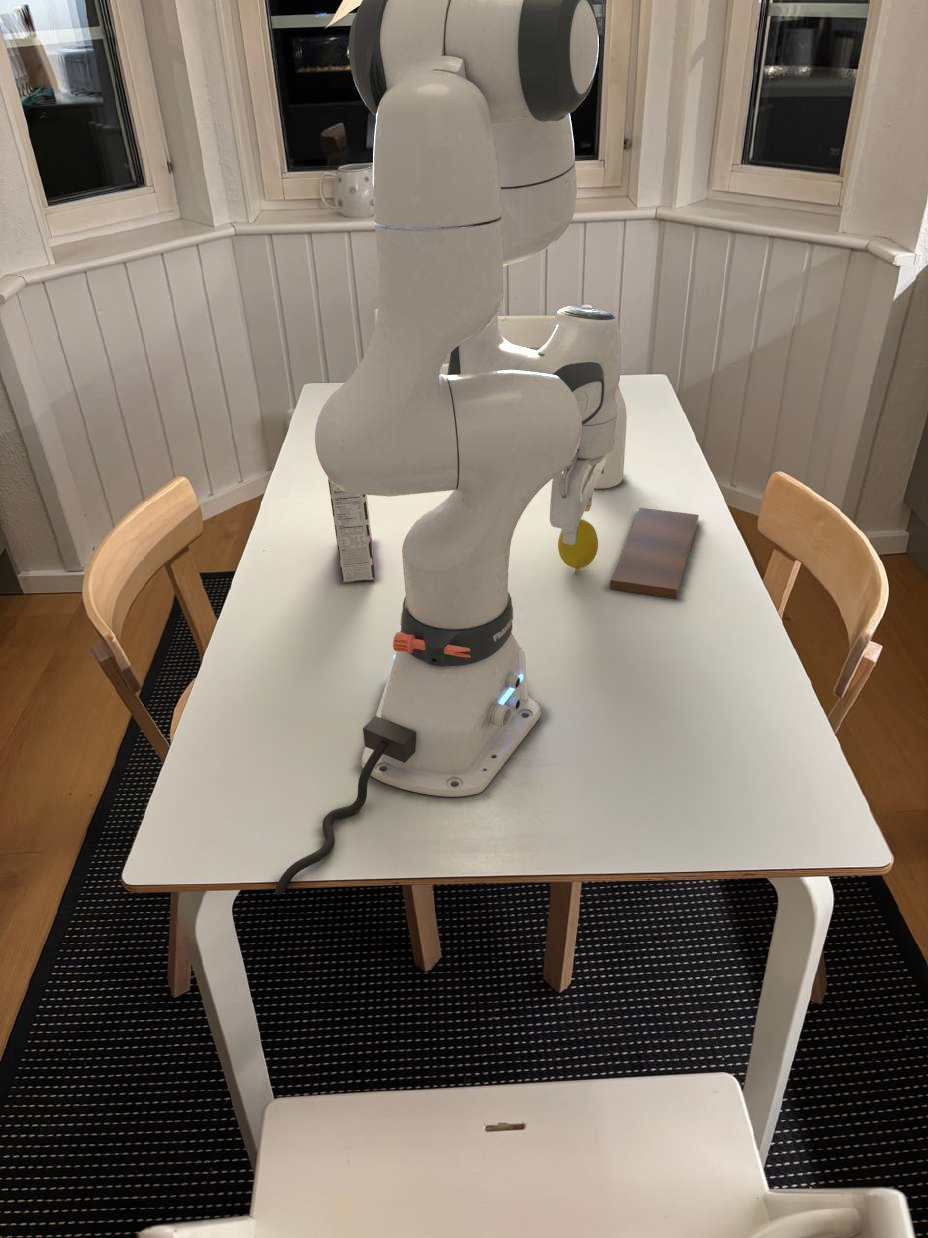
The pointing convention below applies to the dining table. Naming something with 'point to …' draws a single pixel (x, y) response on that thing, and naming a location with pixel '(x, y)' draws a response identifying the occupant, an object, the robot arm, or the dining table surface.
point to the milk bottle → (615, 449)
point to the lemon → (580, 547)
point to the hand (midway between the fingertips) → (577, 524)
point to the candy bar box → (352, 535)
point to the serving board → (655, 553)
